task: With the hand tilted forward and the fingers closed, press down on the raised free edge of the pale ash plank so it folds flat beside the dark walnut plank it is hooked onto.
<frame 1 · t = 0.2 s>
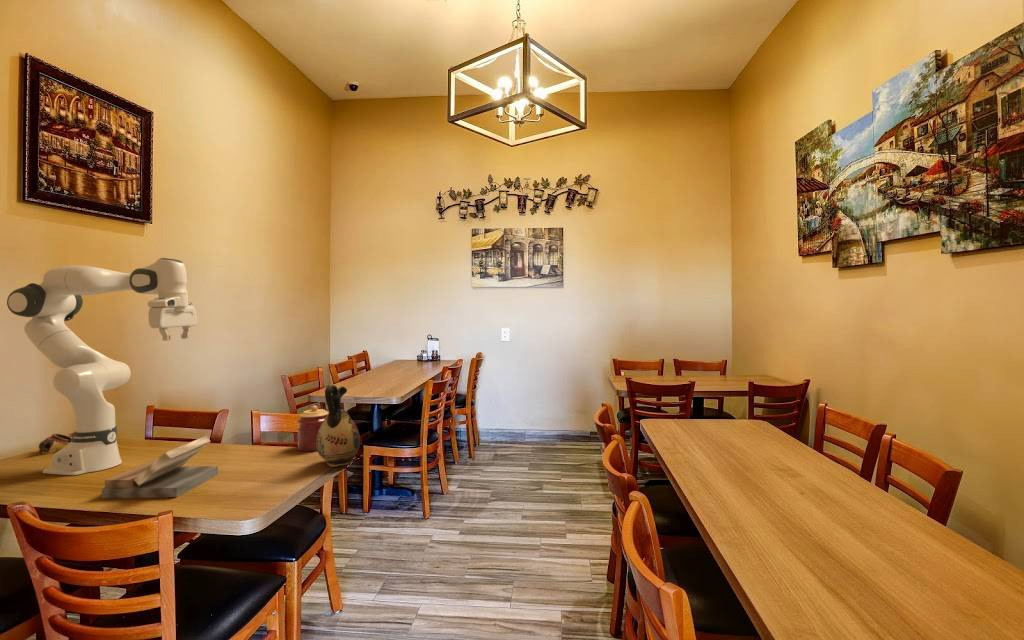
hand: (176, 339, 170), 47 cm above the table, tool pointing down, fingers open, 8 cm apart
strapped headlamp: (53, 452, 192), on the table
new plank: (174, 459, 152), point 9 cm above the table, hinge at 40.0°
canister: (314, 447, 194), on the table
ceramic jug: (337, 464, 172), on the table
grey flat block: (163, 485, 152), on the table
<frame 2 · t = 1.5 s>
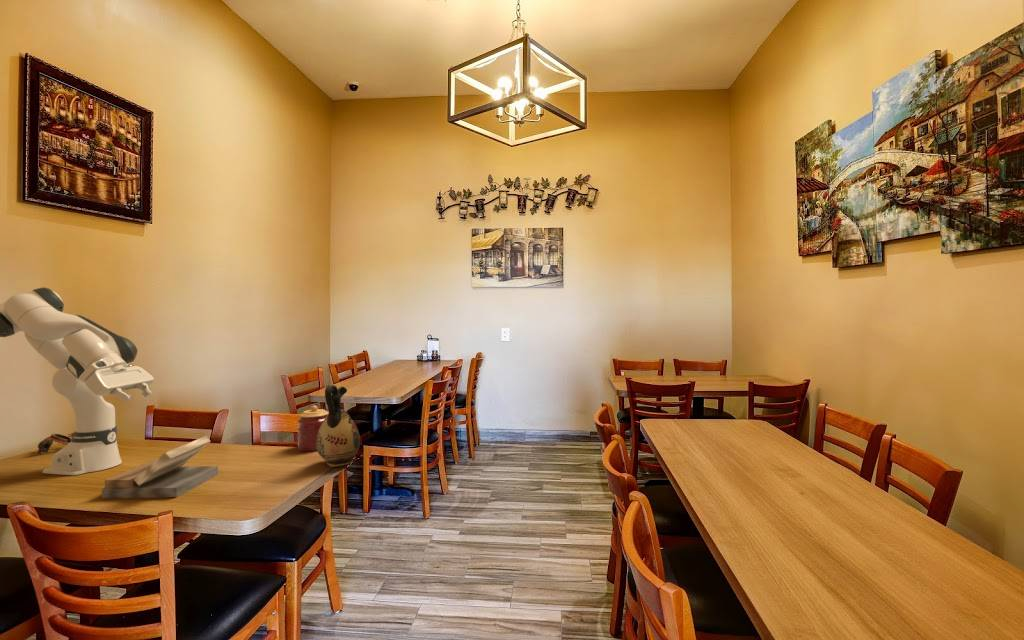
hand: (139, 397, 152), 29 cm above the table, tool tilted 45°, fingers open, 7 cm apart
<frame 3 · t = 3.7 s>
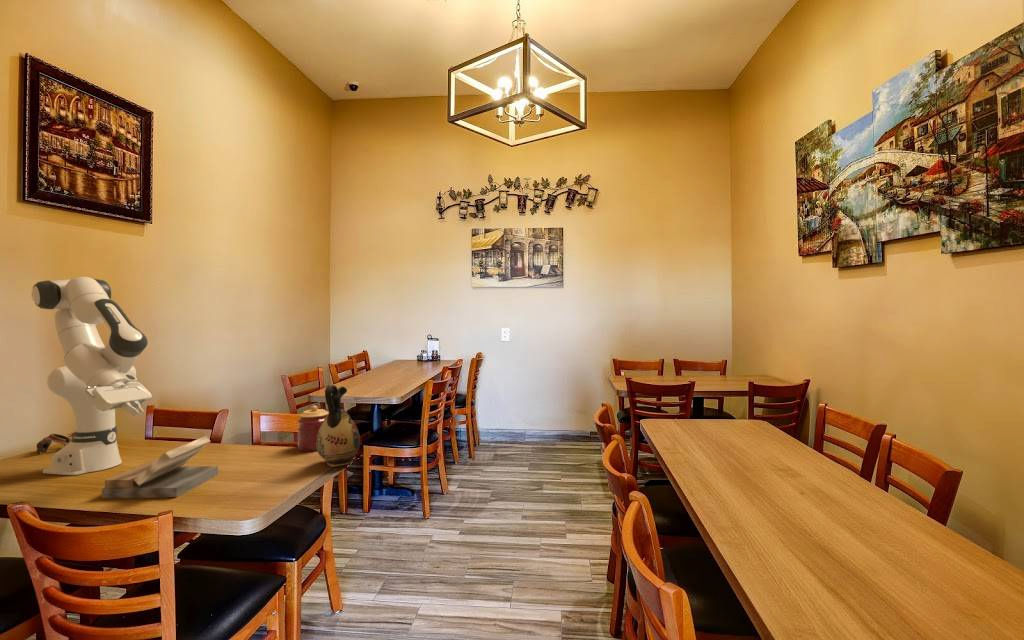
hand: (139, 413, 151), 24 cm above the table, tool tilted 45°, fingers closed
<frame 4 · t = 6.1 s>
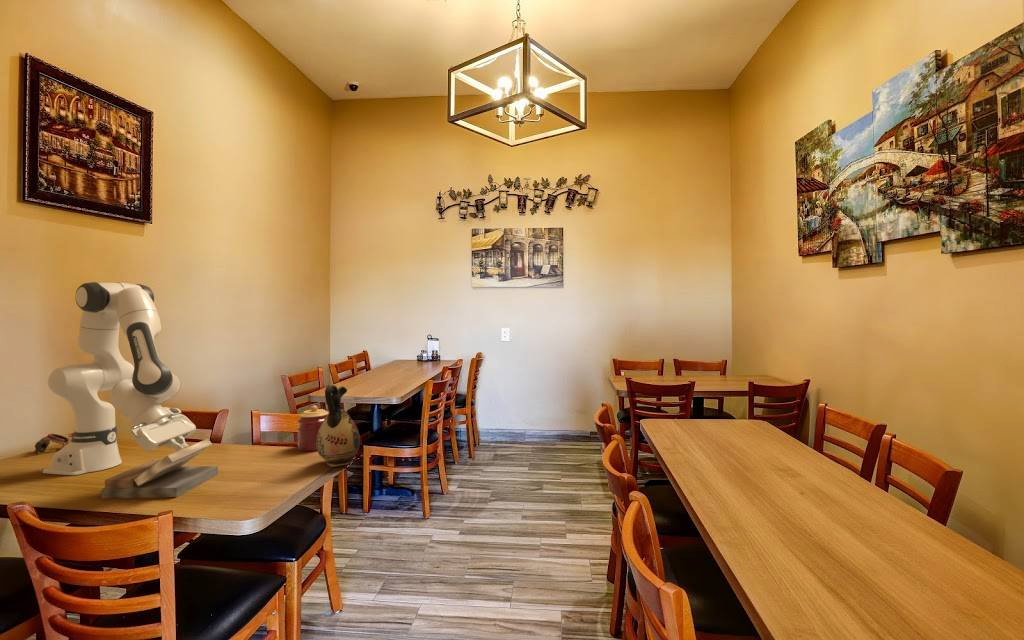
hand: (184, 449, 152), 12 cm above the table, tool tilted 45°, fingers closed, pressing on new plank
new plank: (175, 460, 152), point 8 cm above the table, hinge at 34.8°, touching gripper
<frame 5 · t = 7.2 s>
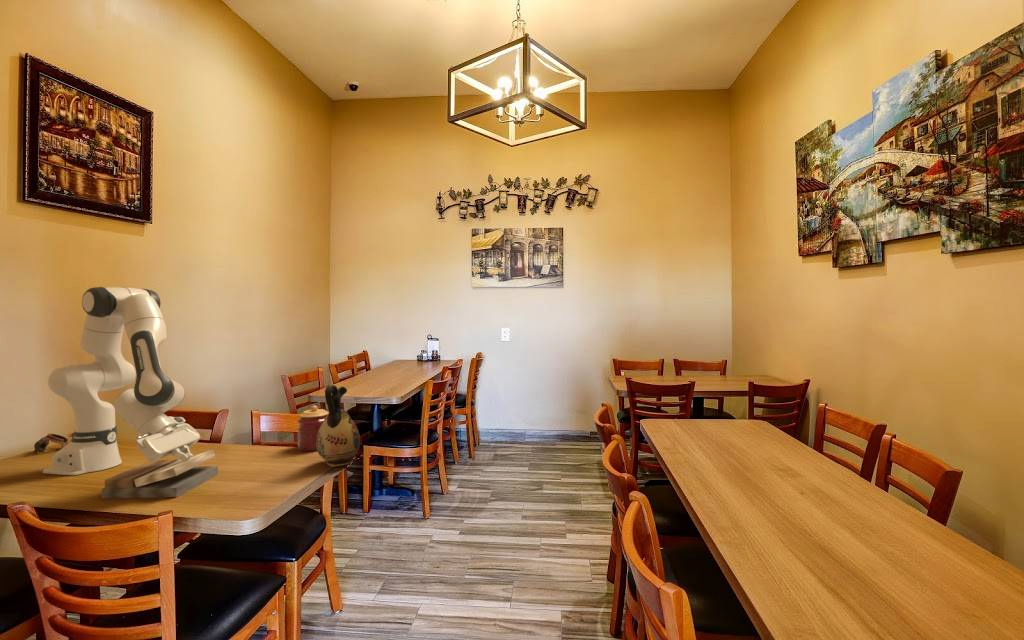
hand: (188, 458, 152), 9 cm above the table, tool tilted 45°, fingers closed, pressing on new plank
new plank: (177, 467, 152), point 6 cm above the table, hinge at 15.5°, touching gripper
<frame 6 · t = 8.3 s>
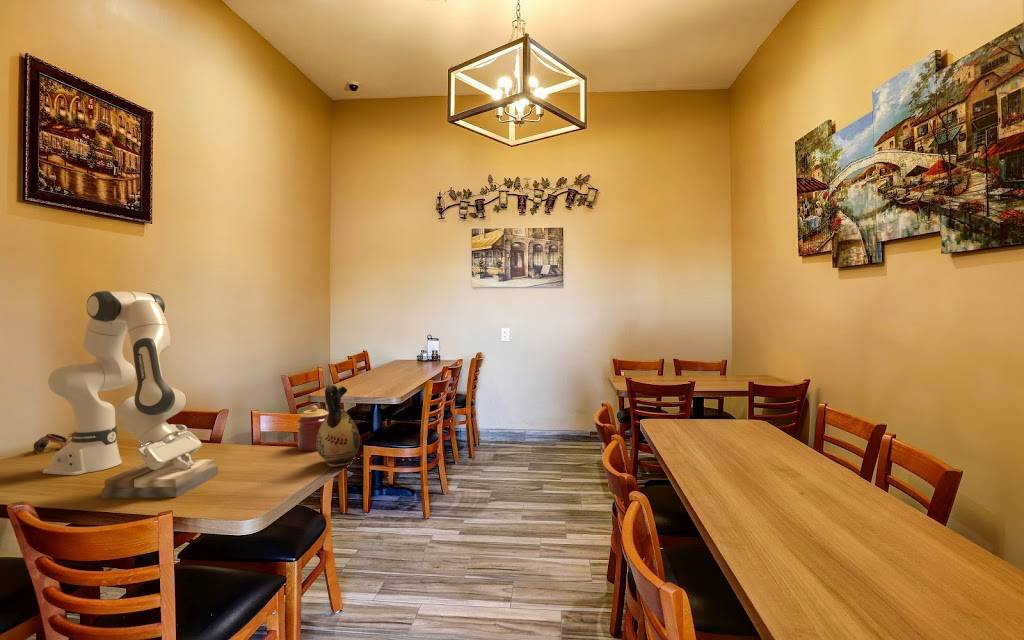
hand: (190, 467, 152), 6 cm above the table, tool tilted 45°, fingers closed, pressing on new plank
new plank: (177, 472, 152), point 4 cm above the table, hinge at 0.3°, touching gripper
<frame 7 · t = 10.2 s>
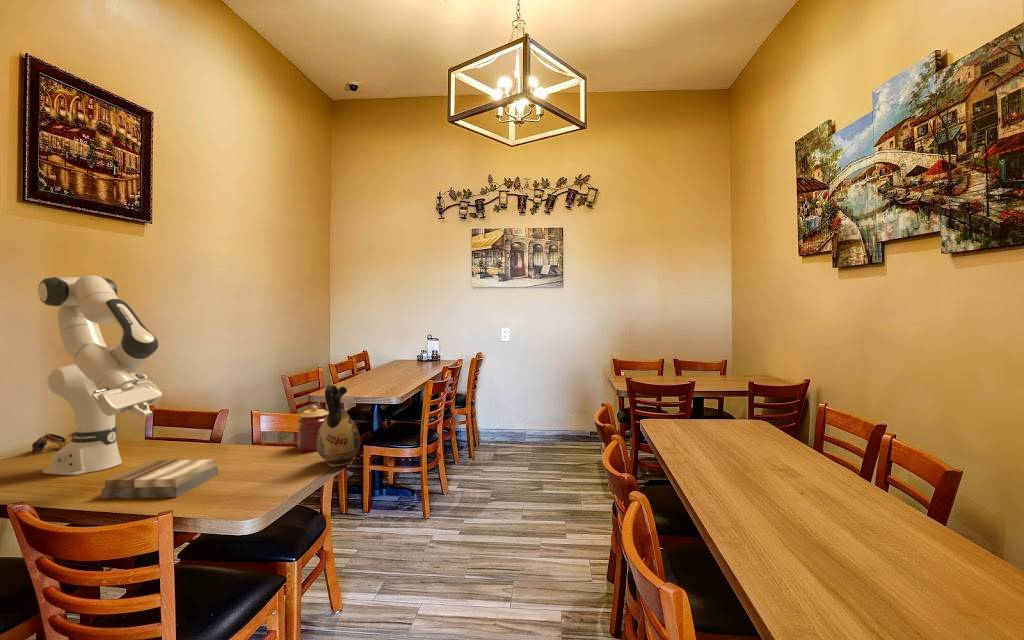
hand: (147, 415, 152), 23 cm above the table, tool tilted 40°, fingers closed
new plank: (177, 472, 152), point 4 cm above the table, hinge at 0.3°
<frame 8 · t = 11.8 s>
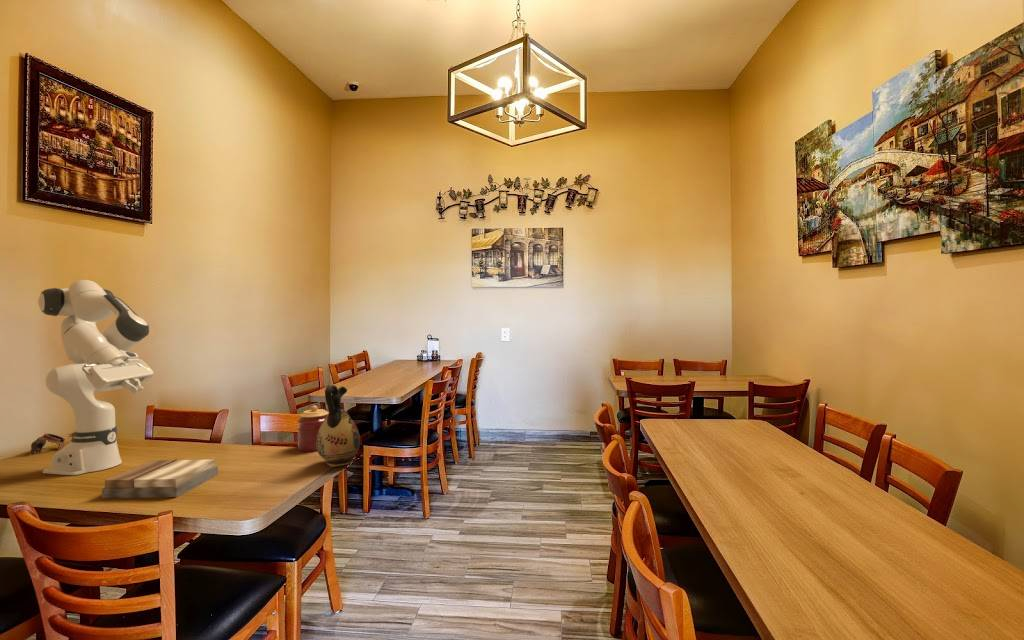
hand: (138, 391, 151), 31 cm above the table, tool tilted 45°, fingers closed
at the end: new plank at +0° (first picture: +40°) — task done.
